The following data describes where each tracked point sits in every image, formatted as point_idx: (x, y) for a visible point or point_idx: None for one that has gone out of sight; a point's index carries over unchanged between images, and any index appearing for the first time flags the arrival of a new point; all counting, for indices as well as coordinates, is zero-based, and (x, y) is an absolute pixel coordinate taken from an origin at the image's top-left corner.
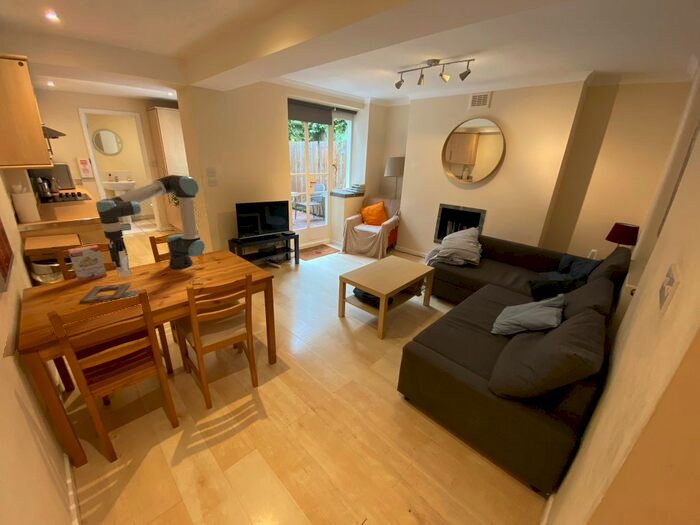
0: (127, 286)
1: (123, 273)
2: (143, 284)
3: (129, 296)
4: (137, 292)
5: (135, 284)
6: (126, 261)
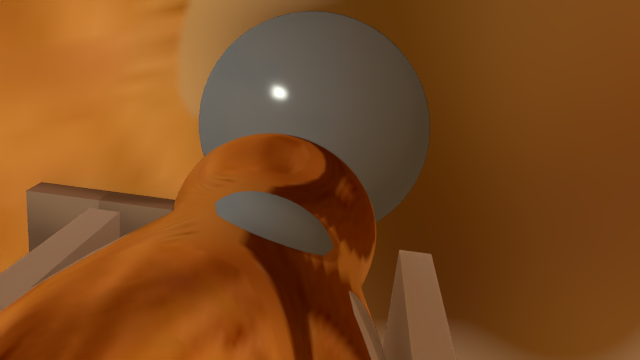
0: (100, 199)
1: (366, 249)
2: (37, 56)
3: (344, 138)
4: (266, 76)
5: (21, 139)
6: (296, 273)
